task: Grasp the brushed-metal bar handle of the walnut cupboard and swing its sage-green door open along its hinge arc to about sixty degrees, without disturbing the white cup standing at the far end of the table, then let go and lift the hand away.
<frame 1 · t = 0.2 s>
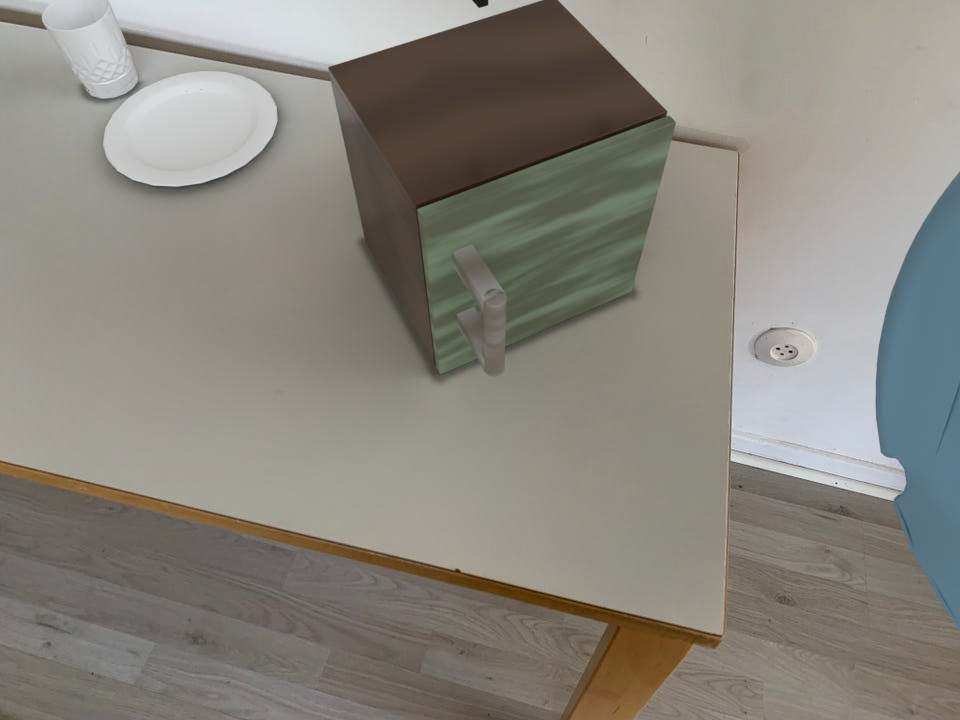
plate: (196, 136, 90), on the table
cupboard: (492, 263, 78), on the table
cupboard door: (561, 283, 63), point 11 cm above the table, hinge at 0.0°
white cup: (113, 84, 96), on the table
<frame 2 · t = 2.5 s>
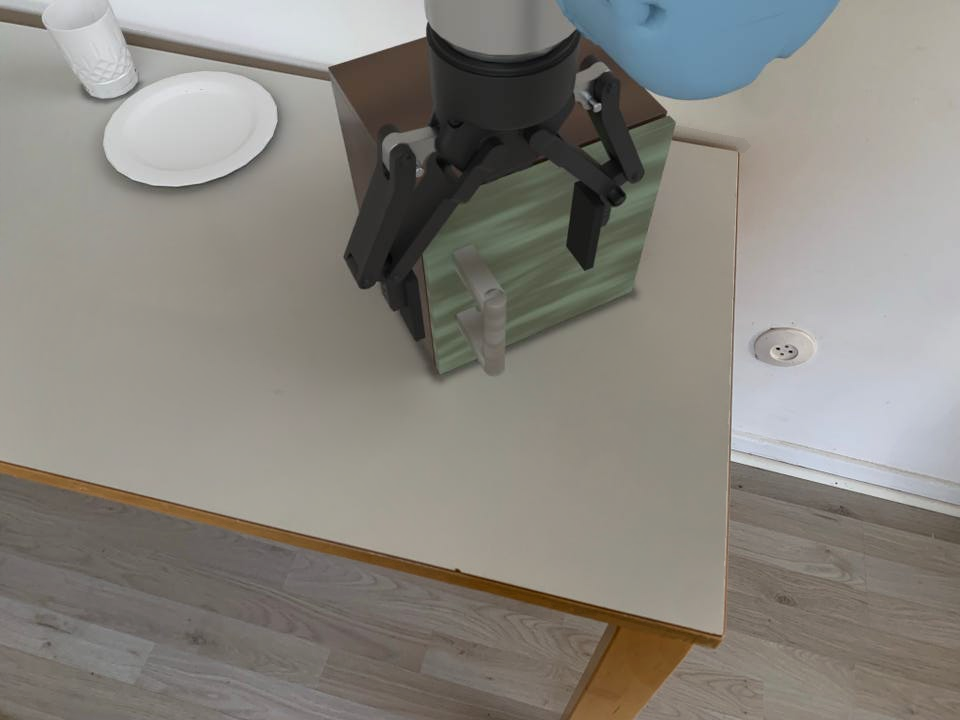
hand: (498, 290, 53), 19 cm above the table, tool pointing down, fingers open, 13 cm apart
nothing on the table moved.
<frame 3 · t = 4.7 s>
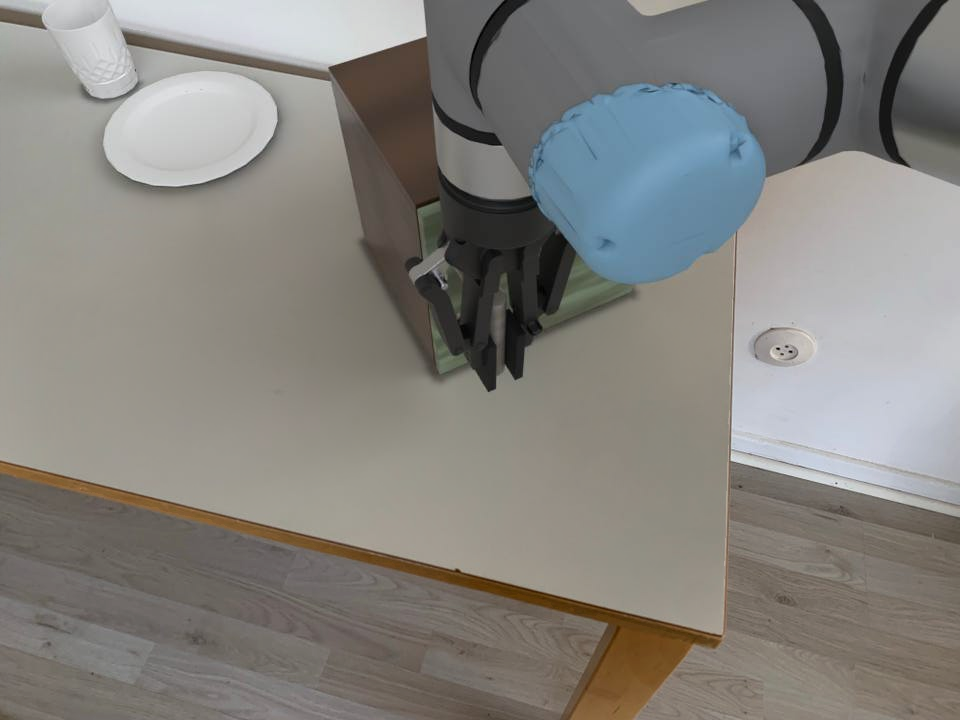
hand: (498, 372, 62), 7 cm above the table, tool pointing down, fingers closed on cupboard door, 2 cm apart
cupboard door: (561, 283, 63), point 11 cm above the table, hinge at 0.0°, touching gripper
everything else where it was.
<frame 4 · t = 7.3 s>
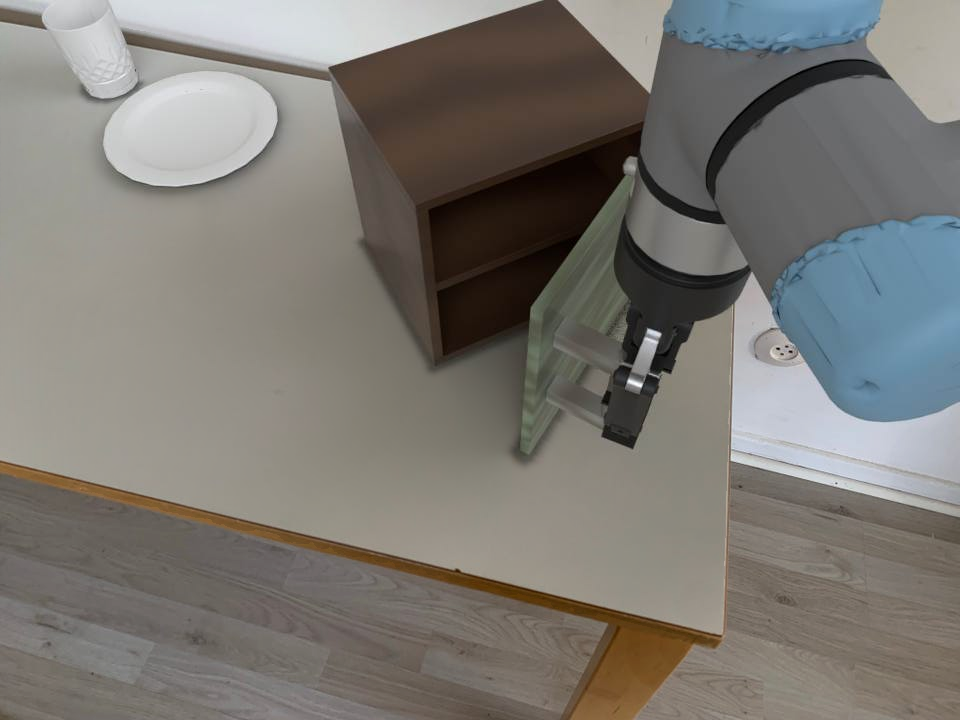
hand: (623, 425, 59), 7 cm above the table, tool pointing down, fingers closed on cupboard door, 2 cm apart
cupboard door: (627, 312, 61), point 11 cm above the table, hinge at 31.5°, touching gripper
everything else where it was.
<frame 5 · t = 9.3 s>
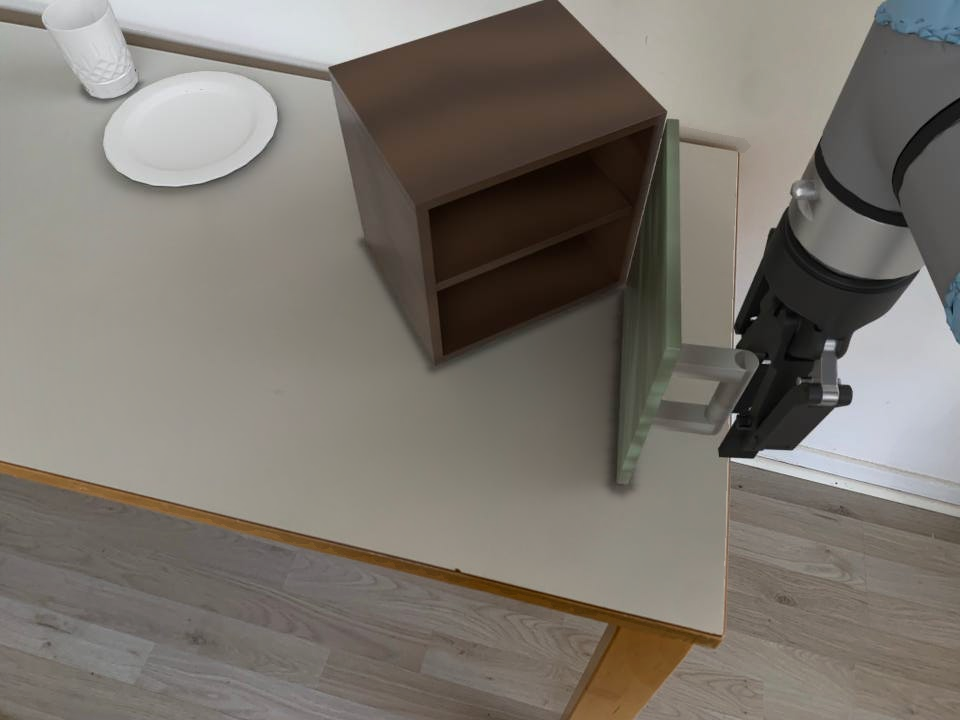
hand: (732, 430, 59), 8 cm above the table, tool pointing down, fingers open, 3 cm apart
cupboard door: (684, 315, 61), point 11 cm above the table, hinge at 55.2°
everything else where it was.
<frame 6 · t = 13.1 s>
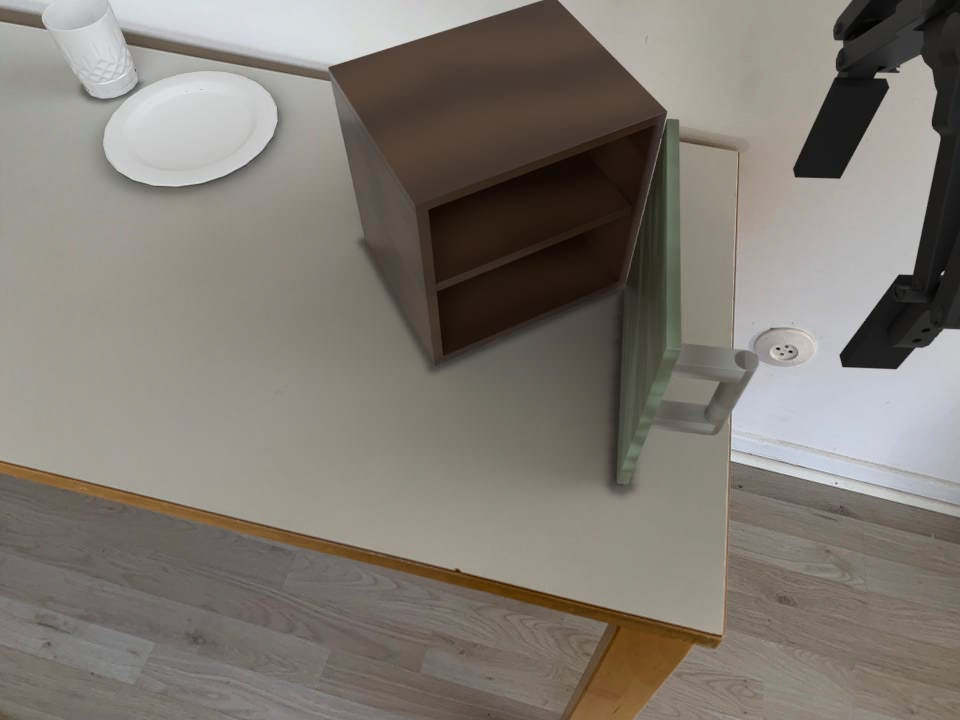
hand: (839, 260, 41), 29 cm above the table, tool pointing down, fingers open, 13 cm apart
nothing on the table moved.
at the end: cupboard door at +55° (first picture: +0°); white cup moved 0.2 cm from its start; white cup tilted 0° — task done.
